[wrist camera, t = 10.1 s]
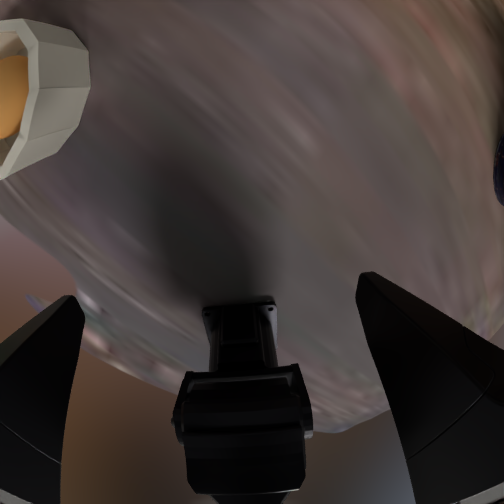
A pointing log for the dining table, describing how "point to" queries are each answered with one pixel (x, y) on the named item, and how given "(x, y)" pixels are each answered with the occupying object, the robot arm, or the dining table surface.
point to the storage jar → (499, 172)
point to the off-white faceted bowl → (44, 90)
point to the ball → (12, 93)
